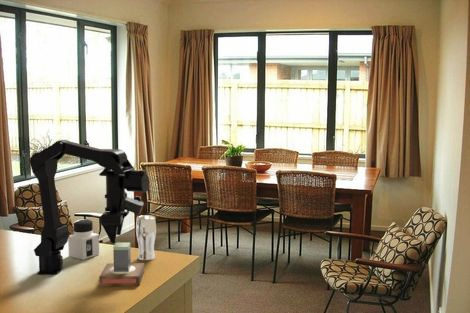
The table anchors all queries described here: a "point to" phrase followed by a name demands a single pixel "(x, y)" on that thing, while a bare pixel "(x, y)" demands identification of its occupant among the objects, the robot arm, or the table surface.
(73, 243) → the container
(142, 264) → the walnut step
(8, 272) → the table surface
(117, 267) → the metal column
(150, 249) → the beer glass
